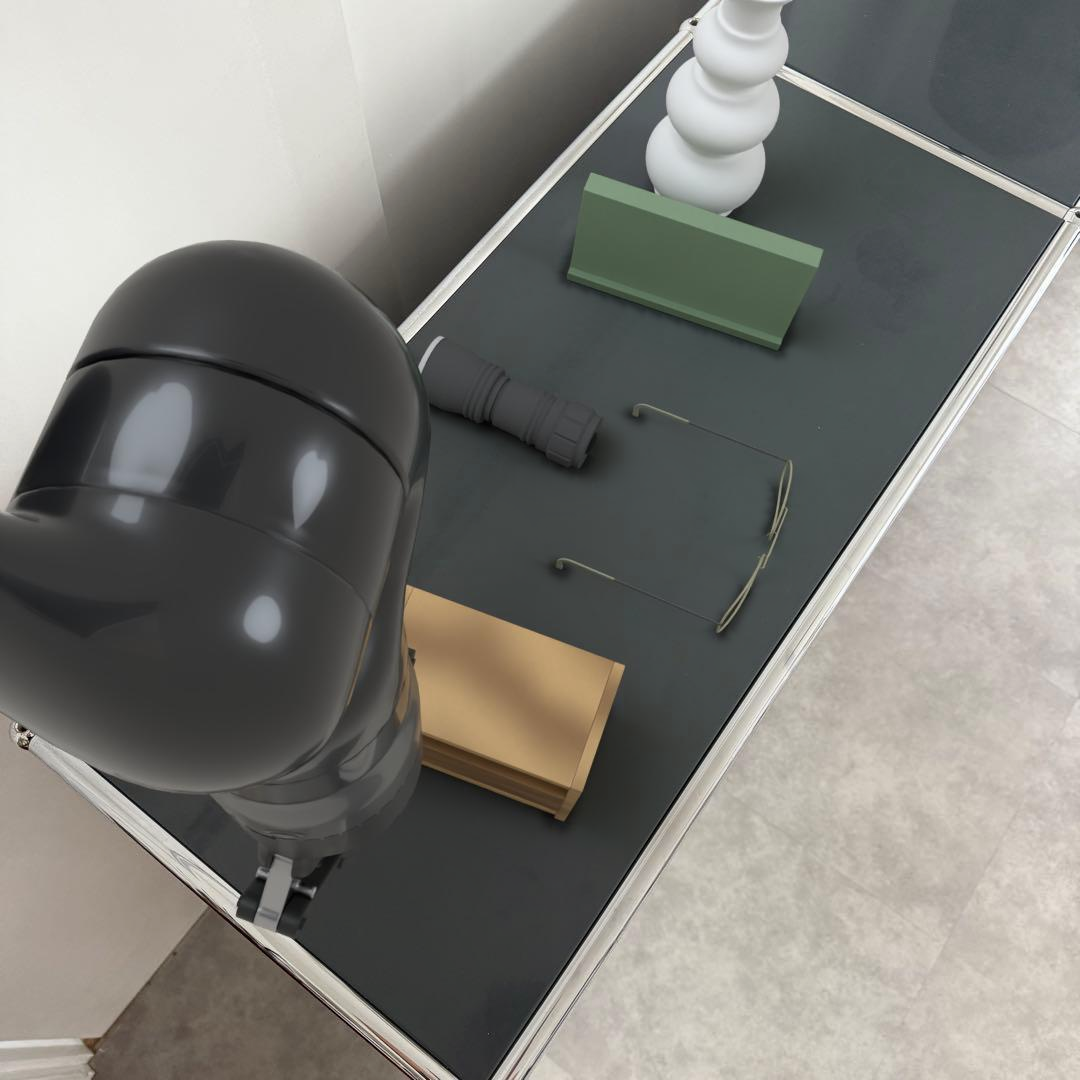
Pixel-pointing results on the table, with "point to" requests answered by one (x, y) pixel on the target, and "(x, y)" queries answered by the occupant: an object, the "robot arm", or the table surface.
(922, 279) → the table surface
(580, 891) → the table surface
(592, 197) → the wall board
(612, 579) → the eyeglasses
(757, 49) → the vase
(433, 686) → the wooden drawer chest
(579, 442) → the flashlight
